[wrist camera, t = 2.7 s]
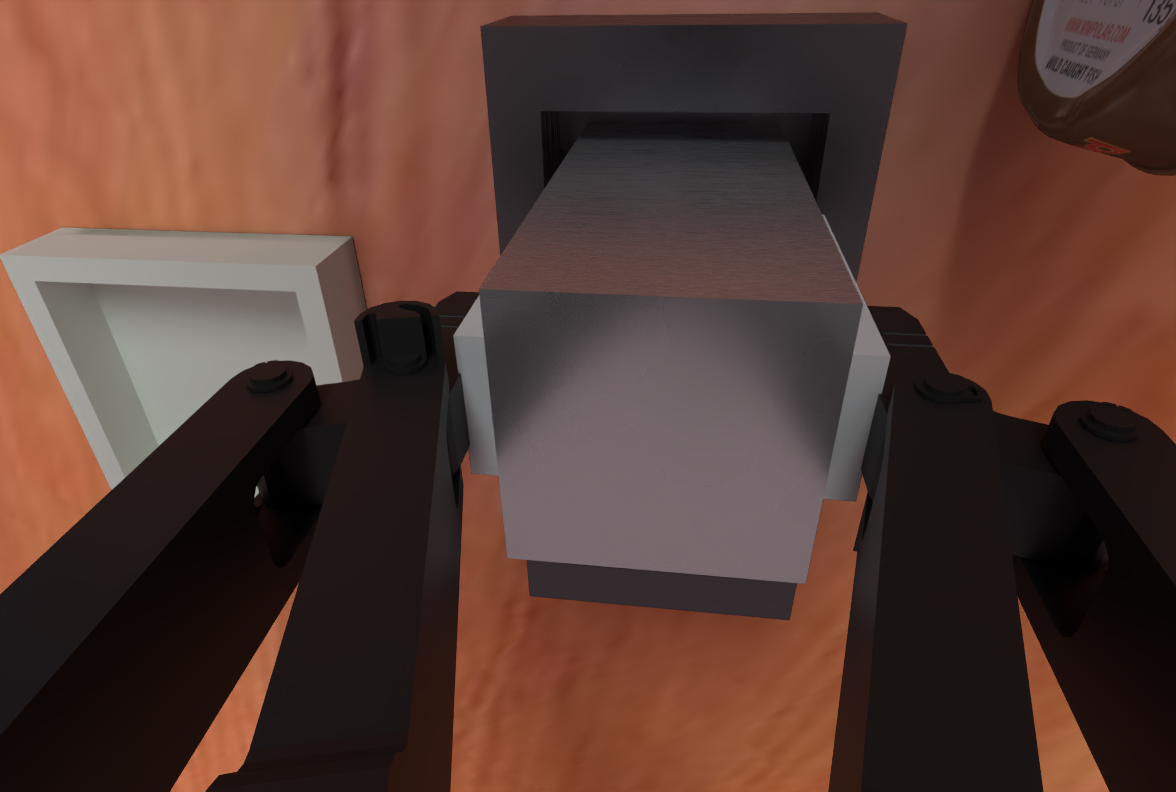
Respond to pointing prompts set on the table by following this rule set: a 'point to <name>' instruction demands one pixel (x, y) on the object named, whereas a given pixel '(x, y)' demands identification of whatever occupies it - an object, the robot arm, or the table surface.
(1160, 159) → the tin
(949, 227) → the table surface
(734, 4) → the table surface
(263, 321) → the tray
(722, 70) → the dark rectangular frame
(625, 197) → the grey rectangular block
